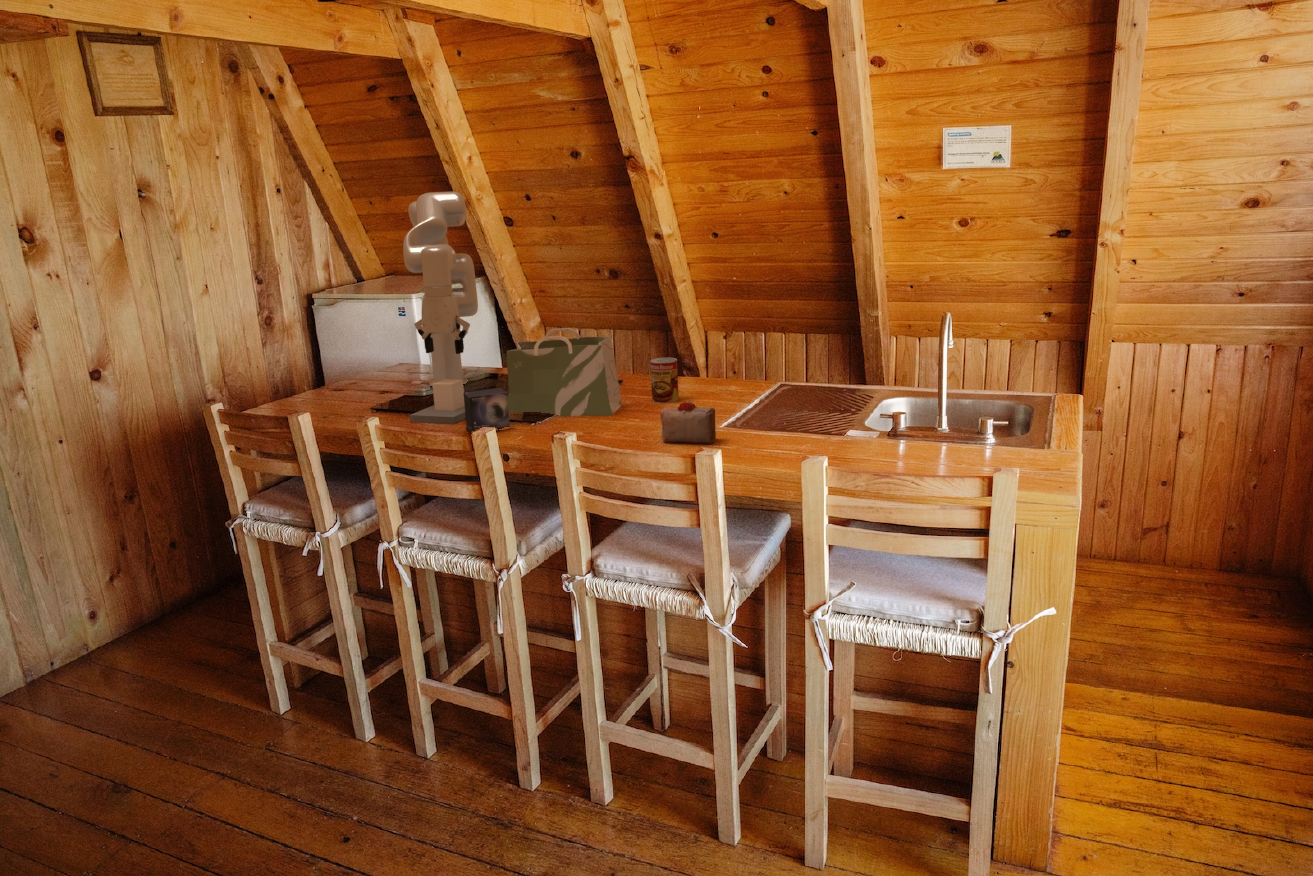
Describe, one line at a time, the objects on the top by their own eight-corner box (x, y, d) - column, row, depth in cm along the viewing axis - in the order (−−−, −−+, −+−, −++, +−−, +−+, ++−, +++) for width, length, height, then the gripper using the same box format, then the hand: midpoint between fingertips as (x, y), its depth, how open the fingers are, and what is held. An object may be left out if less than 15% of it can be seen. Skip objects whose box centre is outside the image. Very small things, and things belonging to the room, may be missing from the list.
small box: (472, 435, 249) (469, 396, 246) (465, 430, 255) (461, 392, 252) (511, 429, 254) (508, 391, 251) (503, 424, 259) (500, 387, 257)
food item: (657, 444, 233) (655, 405, 231) (666, 435, 241) (664, 397, 238) (711, 446, 229) (710, 406, 227) (718, 437, 237) (717, 399, 234)
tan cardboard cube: (446, 404, 277) (444, 379, 275) (465, 405, 275) (462, 379, 273) (435, 409, 271) (432, 383, 269) (453, 410, 269) (451, 384, 267)
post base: (448, 405, 285) (445, 379, 283) (489, 407, 280) (487, 380, 278) (410, 422, 267) (407, 394, 265) (454, 424, 262) (451, 395, 260)
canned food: (647, 402, 277) (645, 362, 274) (657, 396, 284) (656, 357, 281) (672, 403, 274) (671, 362, 271) (682, 397, 281) (681, 357, 278)
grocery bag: (502, 415, 269) (495, 334, 263) (519, 404, 283) (513, 327, 277) (611, 417, 262) (606, 333, 256) (623, 405, 276) (619, 325, 270)
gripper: (404, 293, 264) (411, 354, 268) (458, 293, 258) (464, 355, 263) (419, 290, 271) (425, 349, 275) (472, 290, 265) (478, 351, 269)
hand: (444, 352), depth 269 cm, fingers open, 9 cm apart
